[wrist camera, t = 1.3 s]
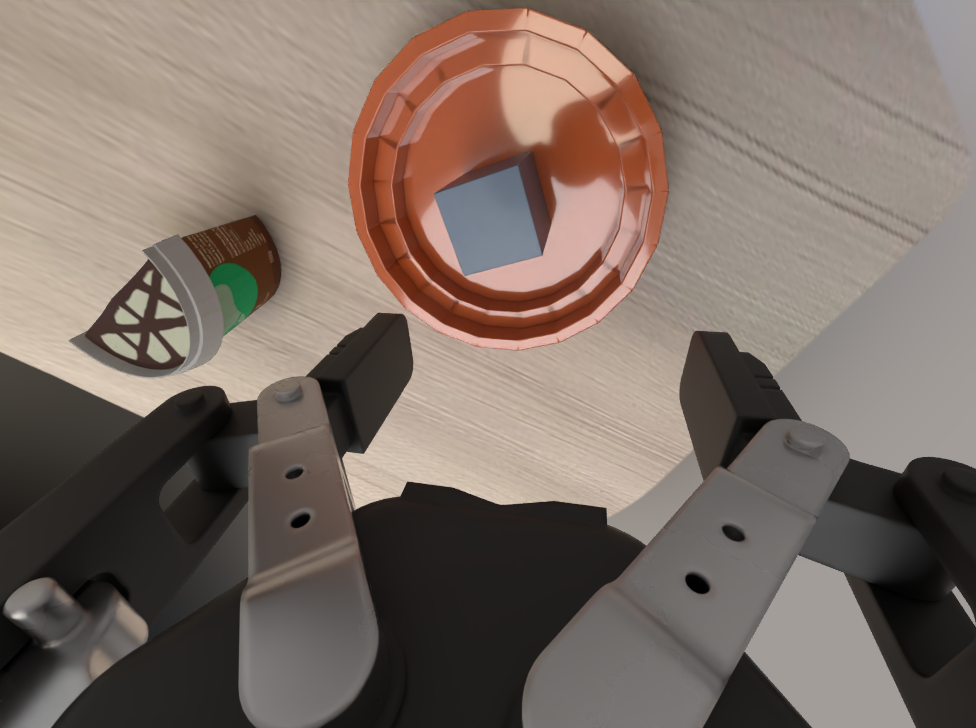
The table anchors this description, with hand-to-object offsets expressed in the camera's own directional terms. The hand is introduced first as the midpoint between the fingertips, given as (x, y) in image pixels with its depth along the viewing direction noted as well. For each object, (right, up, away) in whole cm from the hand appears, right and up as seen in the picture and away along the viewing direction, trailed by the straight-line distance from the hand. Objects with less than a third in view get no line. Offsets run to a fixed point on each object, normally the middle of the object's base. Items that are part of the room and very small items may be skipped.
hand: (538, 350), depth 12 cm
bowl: (0, +10, +15) cm, 18 cm away
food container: (-20, +6, +22) cm, 31 cm away
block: (0, +10, +14) cm, 17 cm away
